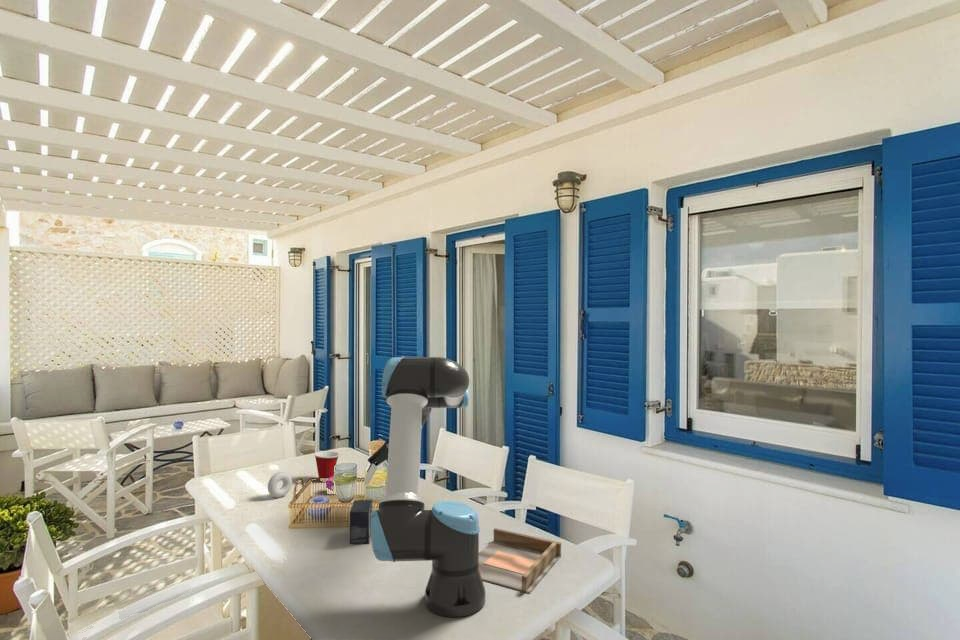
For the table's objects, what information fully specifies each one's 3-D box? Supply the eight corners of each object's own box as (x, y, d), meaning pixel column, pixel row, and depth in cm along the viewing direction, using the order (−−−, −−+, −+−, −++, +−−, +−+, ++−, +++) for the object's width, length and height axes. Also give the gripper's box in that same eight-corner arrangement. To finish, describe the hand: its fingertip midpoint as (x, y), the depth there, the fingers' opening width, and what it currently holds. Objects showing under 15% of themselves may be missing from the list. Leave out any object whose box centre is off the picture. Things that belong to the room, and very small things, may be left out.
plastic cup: (339, 483, 217) (340, 455, 217) (313, 485, 214) (313, 457, 214) (339, 475, 228) (339, 449, 228) (314, 477, 225) (314, 450, 225)
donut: (288, 492, 204) (289, 468, 204) (293, 494, 202) (293, 469, 202) (265, 499, 196) (265, 474, 196) (270, 501, 194) (270, 475, 194)
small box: (353, 531, 167) (353, 499, 167) (373, 530, 167) (373, 498, 167) (348, 545, 156) (348, 511, 156) (369, 544, 157) (369, 510, 157)
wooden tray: (529, 593, 128) (529, 578, 128) (456, 572, 139) (456, 558, 139) (561, 556, 149) (561, 542, 149) (495, 540, 160) (495, 528, 160)
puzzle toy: (326, 494, 202) (326, 480, 202) (330, 490, 208) (331, 476, 208) (339, 495, 202) (340, 481, 202) (344, 490, 208) (344, 476, 208)
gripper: (440, 442, 180) (415, 497, 167) (386, 435, 192) (358, 485, 179) (432, 430, 176) (406, 485, 162) (377, 423, 188) (348, 474, 174)
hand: (381, 485), depth 171 cm, fingers open, 13 cm apart
